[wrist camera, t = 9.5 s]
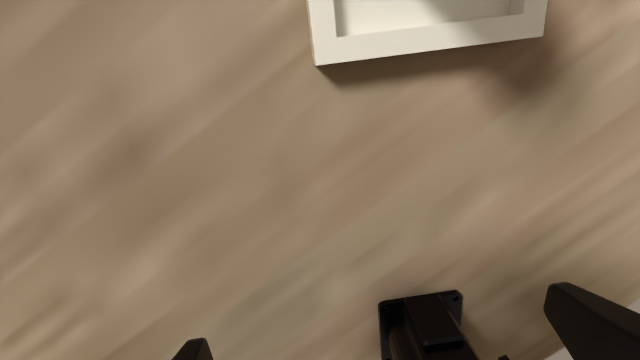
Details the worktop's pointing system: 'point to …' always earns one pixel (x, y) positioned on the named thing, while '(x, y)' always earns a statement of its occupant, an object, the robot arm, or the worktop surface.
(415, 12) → the dish
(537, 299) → the worktop surface
